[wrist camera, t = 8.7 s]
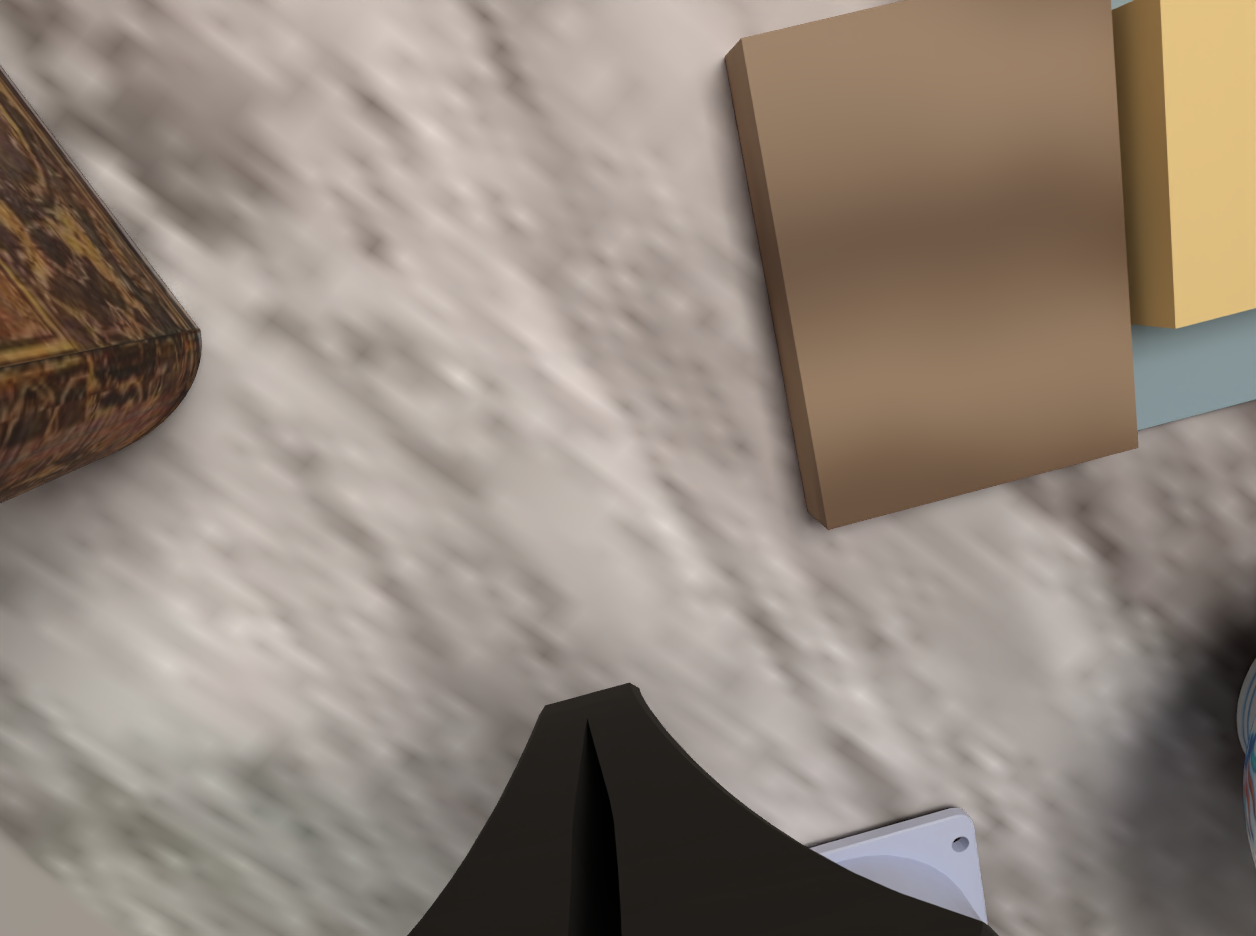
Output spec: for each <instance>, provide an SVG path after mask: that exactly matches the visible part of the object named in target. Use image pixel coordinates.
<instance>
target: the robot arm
mask: <svg viewBox="0 0 1256 936" xmlns="http://www.w3.org/2000/svg"><path fill="white" fill-rule="evenodd" d="M958 837H961V838H960V839H959V840H958V841H956V842H953V841H954V840H955V839H956V838H958ZM407 936H998V935H997V934H996V933H995V931H994V930H993V929H992V928H991V927H990V926H989V925H988V923H987V916H986V908H985V901H984V894H983V887H982V879H981V872H980V865H979V858H978V850H977V843H976V836H975V829H974V824H973V821H972V819H971V818H970V816H969V815H968V814H967V813H966V812H965V811H964V810H963V809H960V808H949V809H946V810H942V811H939V812H935V813H932V814H928V815H925V816H921V817H918V818H914V819H911V820H907V821H904V822H900V823H896V824H893V825H889V826H886V827H882V828H879V829H875V830H872V831H868V832H865V833H861V834H858V835H854V836H851V837H847V838H844V839H840V840H837V841H833V842H829V843H826V844H822V845H819V846H815V847H812V848H808V847H806V846H804V845H802V844H801V843H799V842H797V841H796V840H794V839H793V838H791V837H790V836H788V835H787V834H785V833H784V832H782V831H781V830H779V829H778V828H776V827H774V826H773V825H771V824H770V823H769V822H767V821H766V820H764V819H763V818H762V817H760V816H759V815H758V814H756V813H755V812H753V811H752V810H751V809H749V808H748V807H747V806H745V805H744V804H743V803H742V802H740V801H739V800H738V799H736V798H735V797H734V796H733V795H732V794H730V793H729V792H728V791H727V790H726V789H724V788H723V787H722V786H721V785H720V784H719V783H718V782H717V781H715V780H714V779H713V778H712V777H711V776H710V775H709V774H708V773H707V772H705V771H704V770H703V769H702V768H701V767H700V766H699V765H698V764H697V763H696V762H695V761H694V760H693V759H692V758H691V757H690V756H689V755H688V754H687V753H686V751H685V750H684V749H683V748H682V747H681V746H680V745H679V744H678V743H677V742H676V741H675V740H674V739H673V738H672V736H671V735H670V734H669V733H668V732H667V731H666V729H665V728H664V727H663V726H662V724H661V723H660V722H659V720H658V719H657V718H656V717H655V715H654V714H653V713H652V711H651V710H650V708H649V707H648V705H647V704H646V702H645V700H644V698H643V697H642V695H641V692H640V689H639V688H638V687H636V686H634V685H633V684H631V683H627V684H623V685H619V686H616V687H612V688H608V689H605V690H601V691H597V692H594V693H590V694H586V695H582V696H579V697H575V698H571V699H568V700H564V701H560V702H557V703H553V704H549V705H545V707H544V708H543V710H542V712H541V713H540V715H539V717H538V719H537V722H536V724H535V727H534V729H533V731H532V733H531V736H530V738H529V740H528V743H527V745H526V747H525V749H524V751H523V753H522V756H521V758H520V760H519V762H518V764H517V766H516V768H515V770H514V772H513V774H512V776H511V778H510V780H509V782H508V784H507V786H506V788H505V790H504V792H503V794H502V796H501V798H500V799H499V801H498V803H497V805H496V807H495V809H494V811H493V812H492V814H491V816H490V817H489V819H488V821H487V822H486V824H485V826H484V828H483V829H482V831H481V833H480V834H479V836H478V838H477V839H476V841H475V843H474V844H473V846H472V848H471V849H470V851H469V853H468V854H467V856H466V858H465V859H464V861H463V862H462V864H461V865H460V867H459V868H458V870H457V871H456V873H455V874H454V876H453V877H452V879H451V880H450V882H449V883H448V884H447V886H446V887H445V888H444V890H443V891H442V893H441V894H440V895H439V897H438V898H437V899H436V901H435V902H434V903H433V905H432V906H431V907H430V909H429V910H428V911H427V913H426V914H425V915H424V916H423V918H422V919H421V920H420V921H419V923H418V924H417V925H416V926H415V927H414V928H413V930H412V931H411V932H410V933H409V934H408V935H407Z"/></svg>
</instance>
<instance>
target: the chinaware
mask: <svg viewBox="0 0 1256 936" xmlns="http://www.w3.org/2000/svg"><path fill="white" fill-rule="evenodd" d="M1237 730H1238V736H1239V740H1240V743H1241V746H1242V749H1243V751H1244V753H1245V755H1246V756H1245V764H1244V777H1243V798H1244V812H1245V821H1246V828H1247V834H1248V839H1249V844H1250V848H1251V853H1252V857H1253V860H1254V864H1255V868H1256V658H1255V660H1254V661H1253V663H1252V665H1251V667H1250V669H1249V671H1248V673H1247V675H1246V677H1245V680H1244V682H1243V685H1242V688H1241V692H1240V696H1239V700H1238V707H1237Z"/></svg>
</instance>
